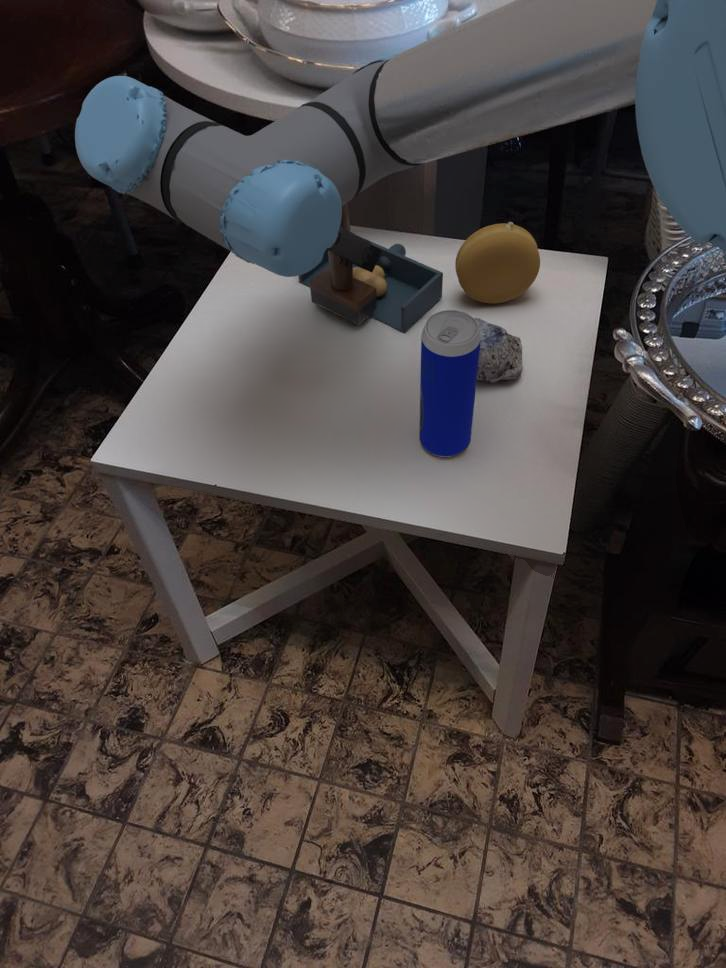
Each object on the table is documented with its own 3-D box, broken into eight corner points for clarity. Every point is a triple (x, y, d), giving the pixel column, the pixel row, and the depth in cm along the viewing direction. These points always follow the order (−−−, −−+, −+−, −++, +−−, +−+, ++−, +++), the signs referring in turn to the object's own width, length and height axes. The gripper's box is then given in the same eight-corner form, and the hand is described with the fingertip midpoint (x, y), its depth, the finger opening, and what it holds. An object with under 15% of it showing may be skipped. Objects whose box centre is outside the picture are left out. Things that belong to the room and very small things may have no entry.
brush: (377, 308, 89) (373, 200, 78) (358, 325, 88) (351, 216, 77) (330, 286, 92) (320, 178, 81) (311, 302, 91) (298, 194, 80)
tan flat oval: (530, 284, 92) (542, 210, 84) (536, 305, 90) (549, 231, 82) (452, 291, 92) (456, 218, 84) (456, 311, 90) (461, 238, 82)
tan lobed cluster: (398, 286, 93) (398, 270, 91) (371, 310, 90) (370, 294, 88) (363, 270, 95) (362, 254, 93) (335, 293, 93) (334, 277, 91)
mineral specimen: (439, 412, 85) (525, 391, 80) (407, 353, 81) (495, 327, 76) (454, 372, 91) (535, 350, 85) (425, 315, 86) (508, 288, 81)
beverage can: (434, 414, 80) (439, 300, 68) (479, 433, 79) (492, 319, 67) (410, 448, 78) (410, 335, 66) (455, 467, 76) (465, 355, 64)
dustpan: (404, 333, 88) (404, 307, 85) (299, 282, 94) (295, 256, 92) (456, 284, 93) (457, 259, 90) (352, 239, 99) (350, 213, 96)
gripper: (161, 204, 71) (298, 262, 92) (288, 264, 65) (404, 312, 86) (190, 123, 70) (323, 201, 90) (322, 177, 63) (433, 247, 84)
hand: (362, 255), depth 88 cm, fingers closed on brush, 3 cm apart
